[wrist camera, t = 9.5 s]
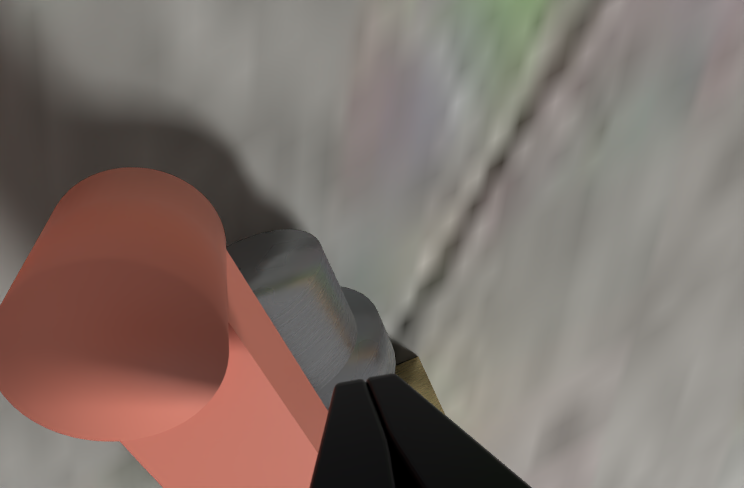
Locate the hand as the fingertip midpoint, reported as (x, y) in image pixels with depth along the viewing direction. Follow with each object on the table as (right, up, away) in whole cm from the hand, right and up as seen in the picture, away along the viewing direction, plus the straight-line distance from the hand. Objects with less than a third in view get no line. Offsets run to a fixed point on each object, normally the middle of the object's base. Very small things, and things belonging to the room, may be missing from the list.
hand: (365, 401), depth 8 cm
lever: (-1, -3, +5) cm, 6 cm away
